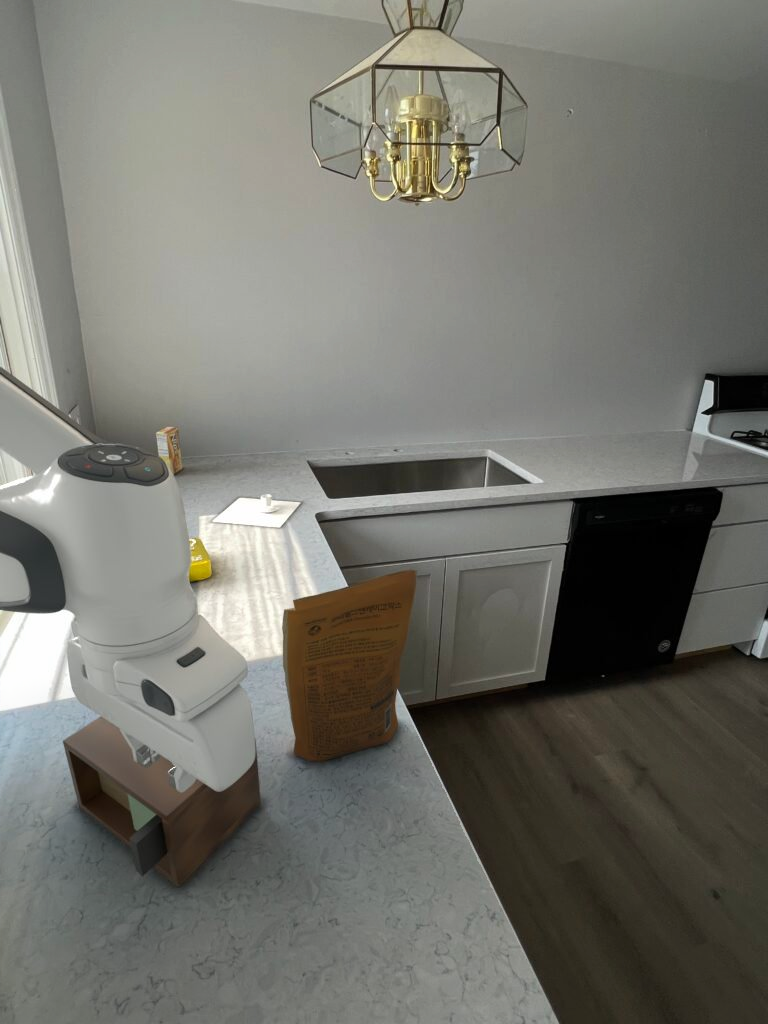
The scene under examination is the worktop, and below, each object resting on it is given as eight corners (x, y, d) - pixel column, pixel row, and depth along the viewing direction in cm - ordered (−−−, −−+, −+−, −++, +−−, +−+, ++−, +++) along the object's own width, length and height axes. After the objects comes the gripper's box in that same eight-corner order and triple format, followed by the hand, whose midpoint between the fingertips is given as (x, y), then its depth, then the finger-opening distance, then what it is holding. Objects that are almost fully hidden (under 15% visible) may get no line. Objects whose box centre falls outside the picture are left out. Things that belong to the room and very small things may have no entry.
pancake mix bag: (418, 744, 82) (429, 576, 72) (291, 781, 75) (282, 602, 65) (400, 713, 88) (407, 554, 77) (280, 745, 81) (271, 576, 71)
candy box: (171, 468, 201) (166, 426, 196) (183, 468, 201) (178, 427, 195) (160, 475, 193) (155, 432, 188) (172, 476, 193) (167, 433, 187)
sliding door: (149, 894, 60) (138, 837, 57) (103, 855, 64) (90, 800, 61) (184, 860, 63) (175, 805, 60) (138, 825, 67) (128, 771, 64)
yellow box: (136, 563, 133) (133, 545, 131) (201, 551, 139) (199, 534, 137) (143, 592, 120) (140, 572, 119) (213, 578, 127) (211, 559, 125)
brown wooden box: (178, 888, 62) (166, 816, 58) (78, 807, 71) (62, 740, 67) (260, 803, 72) (255, 737, 68) (164, 742, 81) (154, 681, 77)
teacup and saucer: (274, 515, 162) (273, 502, 160) (248, 513, 163) (247, 500, 162) (284, 505, 170) (283, 492, 169) (259, 503, 171) (258, 490, 170)
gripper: (35, 622, 48) (65, 746, 53) (198, 715, 38) (216, 856, 43) (103, 591, 53) (125, 707, 58) (263, 667, 43) (272, 798, 48)
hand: (165, 772), depth 50 cm, fingers open, 3 cm apart
